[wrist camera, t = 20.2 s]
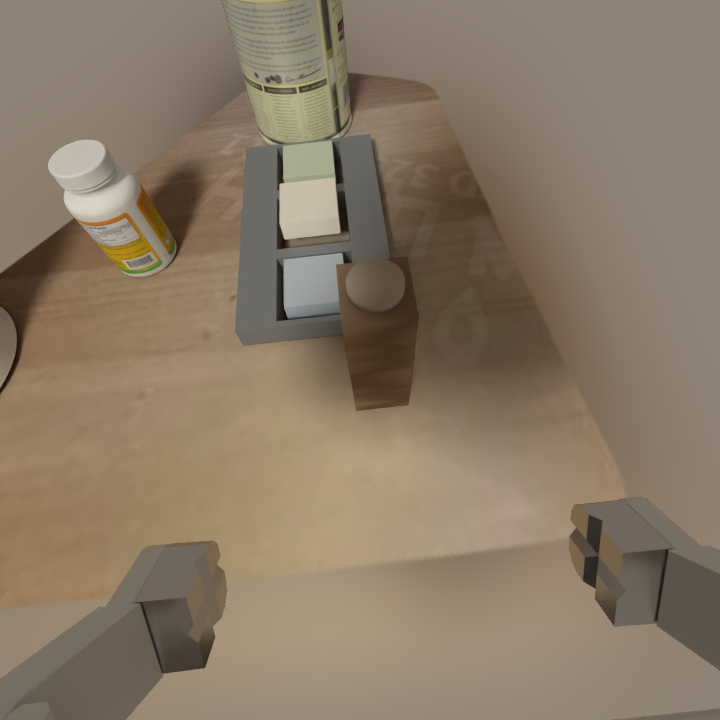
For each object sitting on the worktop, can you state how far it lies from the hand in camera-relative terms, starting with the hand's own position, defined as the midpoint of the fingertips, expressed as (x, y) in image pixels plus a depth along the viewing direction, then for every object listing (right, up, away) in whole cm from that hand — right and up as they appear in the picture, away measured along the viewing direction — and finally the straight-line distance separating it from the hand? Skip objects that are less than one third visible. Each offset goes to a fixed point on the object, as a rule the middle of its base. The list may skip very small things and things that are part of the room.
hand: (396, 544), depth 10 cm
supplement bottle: (-20, +13, +28) cm, 36 cm away
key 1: (-4, +10, +23) cm, 25 cm away
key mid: (-5, +16, +25) cm, 30 cm away
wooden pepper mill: (+1, +3, +20) cm, 20 cm away
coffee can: (-7, +30, +35) cm, 47 cm away
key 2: (-6, +22, +30) cm, 37 cm away
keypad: (-5, +15, +27) cm, 32 cm away
